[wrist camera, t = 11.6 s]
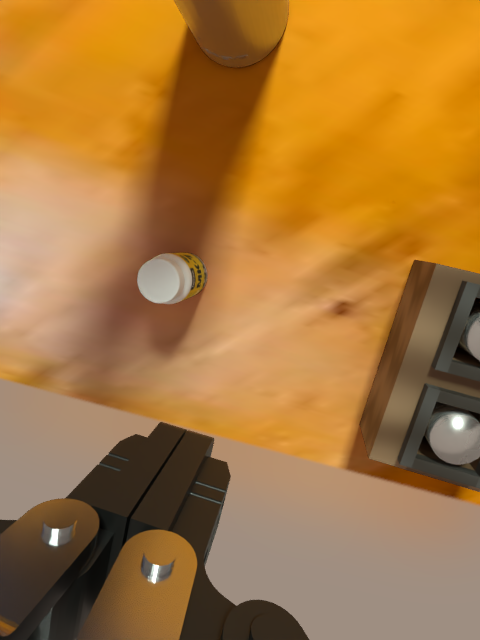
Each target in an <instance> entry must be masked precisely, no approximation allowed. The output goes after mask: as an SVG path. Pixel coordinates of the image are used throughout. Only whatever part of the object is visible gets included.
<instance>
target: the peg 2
mask: <svg viewBox="0 0 480 640" xmlns="http://www.w3.org/2000/svg"><path fill="white" fill-rule="evenodd" d="M458 346H459V347H461V348H462V349H463V350H465V351H466V352H468V353H469V354H470V355H472V356H473V357H475V358H476V359H478V360H479V361H480V302H479V301H476V300H475V301H474V304H473V306H472V309H471V311H470V314H469V317H468V319H467V322H466V325H465V327H464V330H463V333H462V335H461V338H460V341H459V343H458Z"/></svg>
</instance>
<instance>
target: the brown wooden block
mask: <svg viewBox="0 0 480 640" xmlns="http://www.w3.org/2000/svg"><path fill="white" fill-rule="evenodd" d="M476 297H477V298H480V274H478V273H474V272H470V271H465V270H461V269H457V268H453V267H449V266H444V265H440V264H436V263H430V262H424V261H419V260H414V263H413V266H412V269H411V272H410V275H409V278H408V281H407V284H406V287H405V290H404V293H403V296H402V299H401V302H400V305H399V308H398V311H397V314H396V317H395V320H394V323H393V326H392V329H391V332H390V335H389V338H388V341H387V344H386V347H385V350H384V353H383V356H382V359H381V362H380V365H379V368H378V371H377V374H376V377H375V380H374V383H373V386H372V389H371V392H370V395H369V398H368V401H367V404H366V407H365V410H364V413H363V416H362V419H361V422H360V427H361V431H362V435H363V439H364V442H365V446H366V450H367V453H368V457H369V459H372V460H375V461H379V462H382V463H385V464H389V465H392V466H395V467H399V468H402V469H405V470H409V471H412V472H415V473H418V474H422V475H425V476H428V477H432V478H435V479H438V480H442V481H445V482H448V483H452V484H455V485H458V486H462V487H465V488H468V489H472V490H475V491H478V492H480V457H479V458H478V459H476V460H475V461H473V462H470V463H467V464H461V465H459V464H451V463H448V462H445V461H443V460H442V459H440V458H439V457H438V456H437V455H436V454H435V453H434V451H433V449H432V448H431V446H430V444H429V443H428V441H427V439H426V437H425V436H424V433H425V431H426V428H427V425H428V423H429V420H430V417H431V415H432V412H433V409H434V407H435V404H436V402H440V403H444V404H447V405H451V406H454V407H458V408H461V409H465V410H468V411H469V412H470V413H471V414H472V415H473V416H474V417H475V418H476V419H477V420H478V422H479V423H480V361H479V360H478V359H476V358H475V357H473V356H472V355H470V354H469V353H468V352H466V351H465V350H463V349H462V348H460V347H457V346H458V343H459V341H460V338H461V335H462V333H463V330H464V327H465V325H466V322H467V319H468V317H469V314H470V311H471V309H472V306H473V304H474V301H475V298H476Z"/></svg>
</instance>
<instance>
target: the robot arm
mask: <svg viewBox="0 0 480 640" xmlns="http://www.w3.org/2000/svg"><path fill="white" fill-rule="evenodd" d="M174 2H175V4H176V5H177V7H178V9H179V11H180V12H181V14H182V16H183V18H184V19H185V21H186V23H187V25H188V27H189V28H190V30H191V32H192V34H193V35H194V37H195V39H196V41H197V42H198V44H199V46H200V47H201V49H202V50H203V52H204V53H205V54H206V55H207V56H208V57H209V58H210V59H212V60H213V61H215V62H217V63H218V64H221V65H224V66H227V67H237V68H239V67H245V66H249V65H252V64H254V63H256V62H259V61H260V60H261V59H263V58H264V57H266V56H267V55H268V54H269V53H270V52H271V51H272V50H273V49H274V48H275V47H276V45H277V43H278V42H279V40H280V39H281V37H282V35H283V32H284V30H285V28H286V24H287V20H288V15H289V0H174ZM213 444H214V438H212V437H209V436H206V435H202V434H199V433H196V432H192V431H189V430H188V431H187V430H186V429H183V428H179V427H176V426H173V425H169V424H166V423H163V422H160V423H159V424H158V426H157V427H156V428H155V429H154V431H153V432H152V433H151V434H150V435H149V436H148V438H147V437H144V436H140V435H137V434H135V435H133V436H131V437H128V438H126V439H124V440H122V441H120V442H119V443H118V444H117V445H116V446H115V447H114V448H113V449H112V450H111V451H110V452H109V454H108V455H106V456H105V457H104V459H103V460H102V461H101V462H100V464H99V465H97V466H96V467H95V468H94V469H93V470H92V471H91V472H90V473H89V474H88V475H87V476H86V477H85V478H84V480H83V481H82V482H81V483H80V484H79V485H78V486H77V487H76V488H75V489H74V490H73V491H72V492H71V493H70V494H69V495H68V496H67V497H66V498H65V499H54V500H50V501H46V502H43V503H41V504H39V505H37V506H35V507H33V508H32V509H30V510H29V511H28V512H27V513H25V514H24V515H23V516H22V517H20V518H19V519H18V520H0V640H309V639H308V637H307V635H306V634H305V632H304V630H303V629H302V627H301V626H300V625H299V623H298V622H297V621H296V619H295V618H294V617H293V616H292V615H291V614H289V613H288V612H287V611H286V610H285V609H283V608H282V607H280V606H278V605H276V604H274V603H271V602H268V601H264V600H250V601H246V602H243V603H241V604H239V605H238V606H236V605H234V604H233V603H232V602H230V601H229V600H228V599H226V598H225V597H224V596H223V595H221V594H220V593H219V592H218V591H217V590H216V589H215V587H214V586H213V585H212V583H211V582H210V580H209V578H208V576H207V574H206V571H205V564H206V561H207V558H208V555H209V552H210V549H211V546H212V542H213V539H214V536H215V533H216V530H217V527H218V524H219V520H220V515H221V512H222V508H223V504H224V500H225V496H226V492H227V488H228V485H229V481H230V473H229V469H228V465H227V462H224V461H221V460H217V459H214V458H211V457H210V456H211V452H212V448H213Z"/></svg>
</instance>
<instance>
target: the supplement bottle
mask: <svg viewBox="0 0 480 640" xmlns="http://www.w3.org/2000/svg"><path fill="white" fill-rule="evenodd" d="M206 282H207V269H206V267H205V265H204V263H203V261H202V260H201V259H200V258H199V257H197V256H196V255H194V254H192V253H186V252H181V253H164V254H160V255H157V256H155V257H154V258H152V259H151V260H149V261H147V262H146V263H144V264H143V265H142V267H141V268H140V270H139V272H138V277H137V283H138V287H139V290H140V292H141V293H142V295H143V296H144V297H145V298H146V299H148V300H149V301H151V302H154V303H159V304H160V303H164V304H175V303H178V302H180V301H183V300H185V299H187V298H190V297H192V296H194V295H196V294H198V293H199V292H200V291H201V290H202V289H203V288H204V286H205V284H206Z"/></svg>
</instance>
